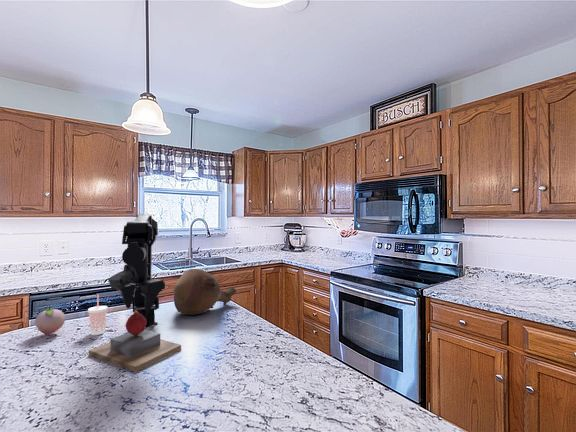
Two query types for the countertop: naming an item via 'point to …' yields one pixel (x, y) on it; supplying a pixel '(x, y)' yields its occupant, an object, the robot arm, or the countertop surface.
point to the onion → (136, 324)
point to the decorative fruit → (50, 321)
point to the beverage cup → (97, 318)
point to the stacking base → (136, 359)
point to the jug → (199, 292)
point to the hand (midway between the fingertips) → (137, 310)
